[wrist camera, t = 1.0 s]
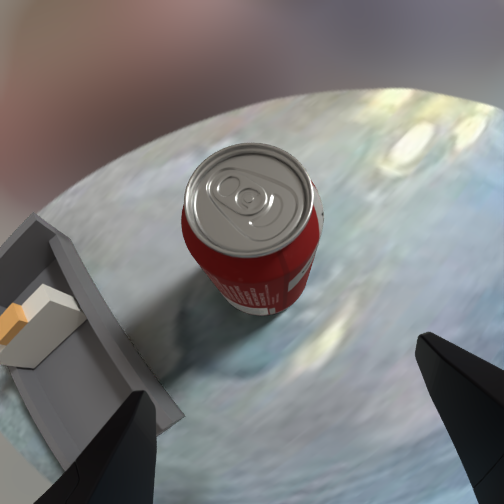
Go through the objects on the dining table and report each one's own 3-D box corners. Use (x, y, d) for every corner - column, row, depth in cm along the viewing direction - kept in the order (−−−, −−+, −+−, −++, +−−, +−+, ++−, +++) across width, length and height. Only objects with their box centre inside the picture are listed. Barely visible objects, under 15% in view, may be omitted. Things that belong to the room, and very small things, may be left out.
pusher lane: (185, 415, 21) (156, 430, 16) (94, 477, 20) (54, 496, 14) (70, 239, 27) (33, 211, 22) (3, 307, 25) (-37, 293, 20)
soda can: (271, 335, 23) (263, 307, 12) (200, 281, 25) (139, 211, 14) (324, 263, 25) (357, 179, 13) (254, 216, 26) (236, 112, 15)
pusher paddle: (91, 315, 24) (41, 296, 17) (34, 368, 22) (-19, 362, 16) (83, 300, 24) (33, 279, 18) (27, 354, 23) (-24, 345, 17)
